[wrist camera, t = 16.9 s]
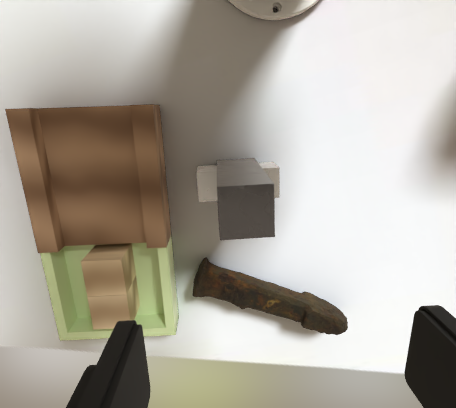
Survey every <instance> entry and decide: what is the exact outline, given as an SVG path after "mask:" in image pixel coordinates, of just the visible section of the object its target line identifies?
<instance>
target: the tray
mask: <svg viewBox="0 0 456 408" xmlns="http://www.w3.org/2000/svg"><path fill="white" fill-rule="evenodd" d="M101 245H103V244H101ZM94 246H95V245H78V246H65V247H63V248H62V249H61V250H60V251H59V252H51V253H40V255H41V259H42V264H43V268H44V272H45V277H46V281H47V286H48V290H49V294H50V299H51V303H52V308H53V312H54V316H55V321H56V325H57V330H58V334H59V338H60V341H63V340H83V339H103V338H110V336H111V333H112V331H113V329H94V330H93V325H92V319H91V314H90V308H89V303H88V298H87V292H86V287H85V282H84V276H83V271H82V266H81V261H82V260H83V258H84V257H85V256H86V255H87V254H88V253H89V252H90V251H91V250H92V248H93V247H94ZM132 249H133V256H134V263H135V270H136V278H137V286H138V294H139V301H140V307H139V309H138V312H137V314H136V317H135V319H134V320H135V321H136V323H137V325H138V324H141V325H142V329H143V336H163V335H176V330H177V324H178V319H179V314H178V303H177V292H176V281H175V270H174V259H173V248H172V237H170V239H169V242H168V245H167V248H147V245H146V243H132Z"/></svg>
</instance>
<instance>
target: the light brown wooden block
mask: <svg viewBox="0 0 456 408" xmlns="http://www.w3.org/2000/svg"><path fill="white" fill-rule="evenodd" d="M87 298H88V303H89V308H90V314H91V319H92V325H93V330H94V329H114V327H115V325H116V323H117V322H118V321H127V320H134V319H135V317H136V314H137V312H138V309H139V307H140V301H139V294H138V286H137V278H136V276H135V278H134V280H133V282H132V284H131V286H130V289H129V291H128V293H127V295H109V296H90V297H87Z"/></svg>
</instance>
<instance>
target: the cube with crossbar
mask: <svg viewBox="0 0 456 408" xmlns="http://www.w3.org/2000/svg"><path fill="white" fill-rule="evenodd" d="M196 176H197V188H198V200H199V202H210V201H218V215H219V231H220V240H230V239H246V238H262V237H275V227H274V198H278V197H279V167H278V166H277V165H276V164H275V163H274V162H259V163H258V162H257V161H256V160H255V158H247V159H229V160H217V165H206V166H198V168H197V171H196Z"/></svg>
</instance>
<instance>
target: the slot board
mask: <svg viewBox="0 0 456 408" xmlns="http://www.w3.org/2000/svg"><path fill="white" fill-rule="evenodd" d="M5 110H6V115H7V119H8V124H9V128H10V132H11V137H12V141H13V145H14V150H15V154H16V158H17V163H18V167H19V171H20V176H21V180H22V185H23V189H24V193H25V198H26V202H27V206H28V211H29V215H30V219H31V224H32V228H33V233H34V237H35V241H36V246H37V250H38V253H51V252H59V251H60V250H61V249H62V248H63V247H65V246H78V245H101V244H124V243H146V245H147V248H167V245H168V242H169V239H170V237H171V226H170V215H169V204H168V193H167V182H166V171H165V160H164V149H163V138H162V127H161V116H160V105H154V104H150V105H130V106H100V107H70V108H39V109H33V108H27V109H5Z"/></svg>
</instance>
